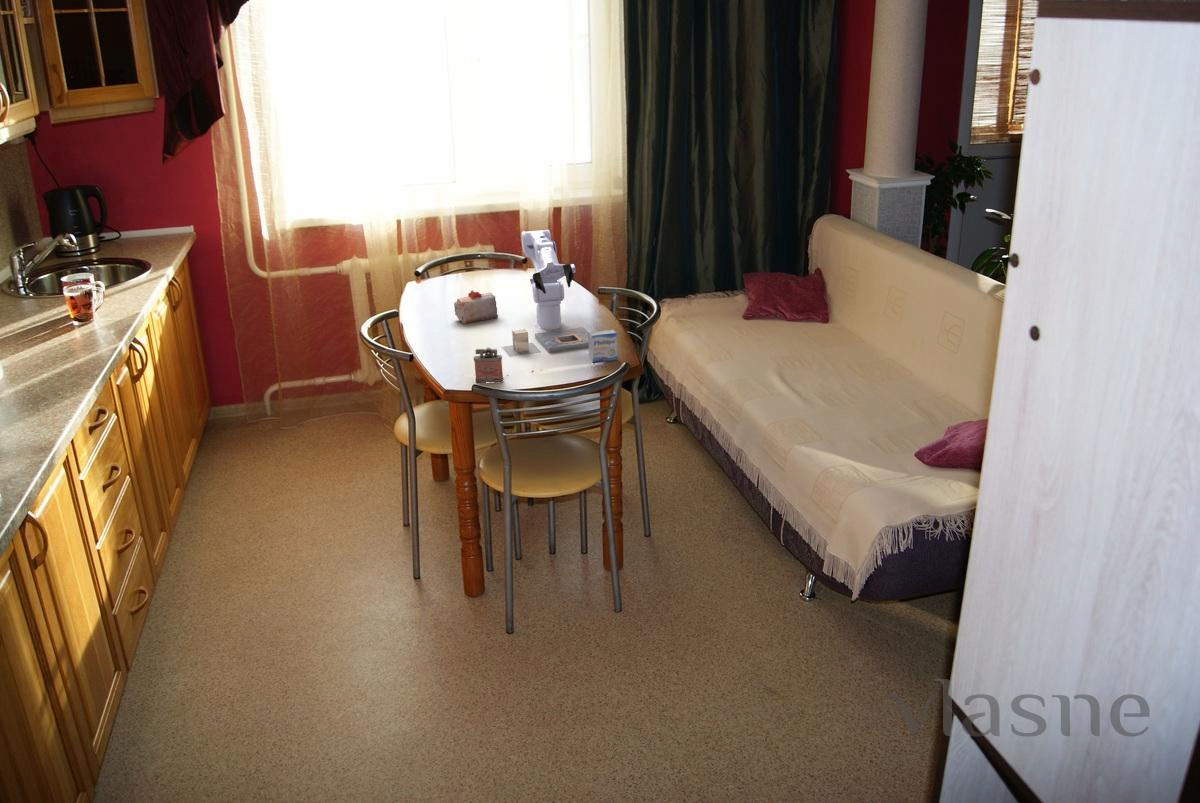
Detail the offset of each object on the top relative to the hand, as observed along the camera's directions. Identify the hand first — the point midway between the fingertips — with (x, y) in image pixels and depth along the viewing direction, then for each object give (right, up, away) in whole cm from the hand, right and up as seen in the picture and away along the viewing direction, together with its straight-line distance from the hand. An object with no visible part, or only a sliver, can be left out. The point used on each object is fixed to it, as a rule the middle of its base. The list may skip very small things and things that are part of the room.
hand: (556, 287), depth 308 cm
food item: (-29, -7, +40) cm, 50 cm away
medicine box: (+14, -22, -3) cm, 27 cm away
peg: (-11, -19, +5) cm, 22 cm away
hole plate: (+3, -17, +11) cm, 20 cm away
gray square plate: (-11, -19, +5) cm, 23 cm away
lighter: (-18, -29, -17) cm, 39 cm away
